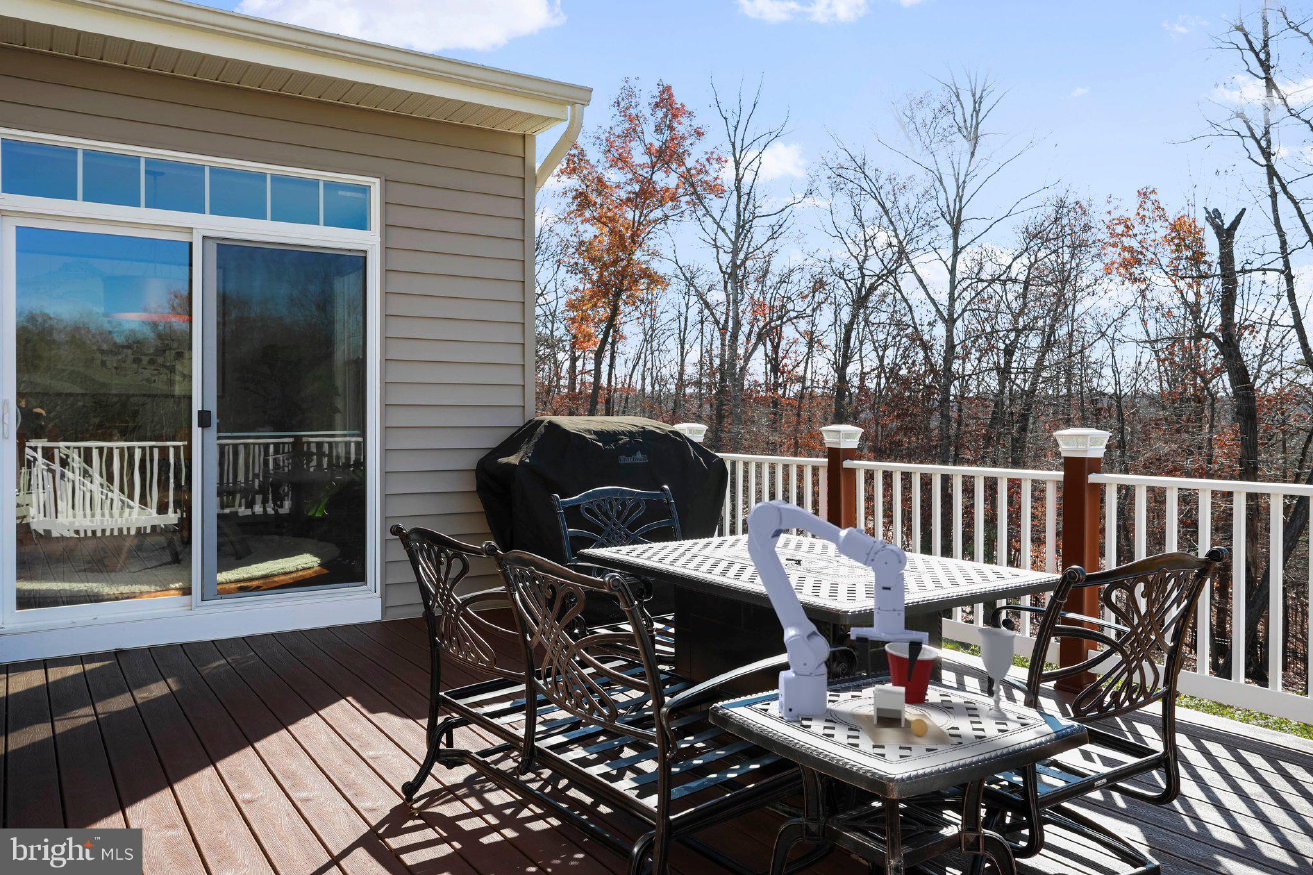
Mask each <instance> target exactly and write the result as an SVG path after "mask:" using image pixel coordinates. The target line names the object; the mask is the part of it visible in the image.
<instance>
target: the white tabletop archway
mask: <svg viewBox="0 0 1313 875" xmlns="http://www.w3.org/2000/svg"><path fill="white" fill-rule="evenodd" d="M873 714H874V724H877V718H878V716H881V717H892V718H902V727H904V724H905V714H906V703H905V687H897V686H892V685H884V684H883V685H881V684H875V685H874V691H873Z"/></svg>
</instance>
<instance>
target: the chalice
mask: <svg viewBox="0 0 1313 875" xmlns="http://www.w3.org/2000/svg"><path fill="white" fill-rule="evenodd" d="M977 631H978V634H979V635H980V657H981V660H982V663H983V666H984V668H985V670H986V672H987V674H988V676H989V677H990V678H991V679H993V687H992V688H991V689H992V691H993V693H994V695H993V697H992V700H993V703H994V705H993V707H992V709H989V710H988V711H987V712H986V715H985V717H986V719H989V720H992V721H999V722H1006V721H1008V720H1009V718H1008V714H1007V713H1006V712H1005V711H1004V710H1002V709H1001V707H1000V703H1001V701H1002V698H1001V696H1000V692H1001V691H1002V688H1001V685H1000V683H1001V682H1000V681H1001V680H1003V679H1005V678H1006V676H1007V674H1008V673H1009V670H1010V669H1011V666H1012V663H1013V662H1014V651H1015V650H1014V639H1015V638H1016V635H1017V632H1015V631H1013V630H1010V629H1007V628H1005V629H1004V628H999V627H981V628H979V629H977Z"/></svg>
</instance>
